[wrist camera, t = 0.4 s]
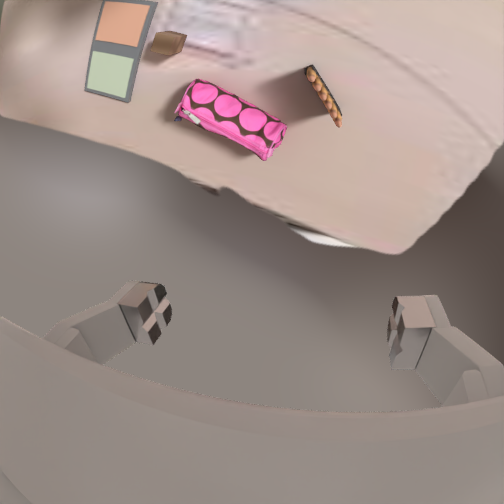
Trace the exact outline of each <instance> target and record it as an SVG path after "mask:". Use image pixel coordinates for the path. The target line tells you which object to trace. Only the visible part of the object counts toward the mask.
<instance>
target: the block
mask: <svg viewBox="0 0 504 504" xmlns="http://www.w3.org/2000/svg"><path fill="white" fill-rule="evenodd" d="M186 37H187V35H185V34H181V33H177V32H173V31H165V32H158V33H156V34H155V38H154V41H153V44H152V47H151V51H152V52H156V53H160V54H164V55H172V54H175V53H179V52H181V51H182V48H183V45H184V42H185V40H186Z"/></svg>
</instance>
